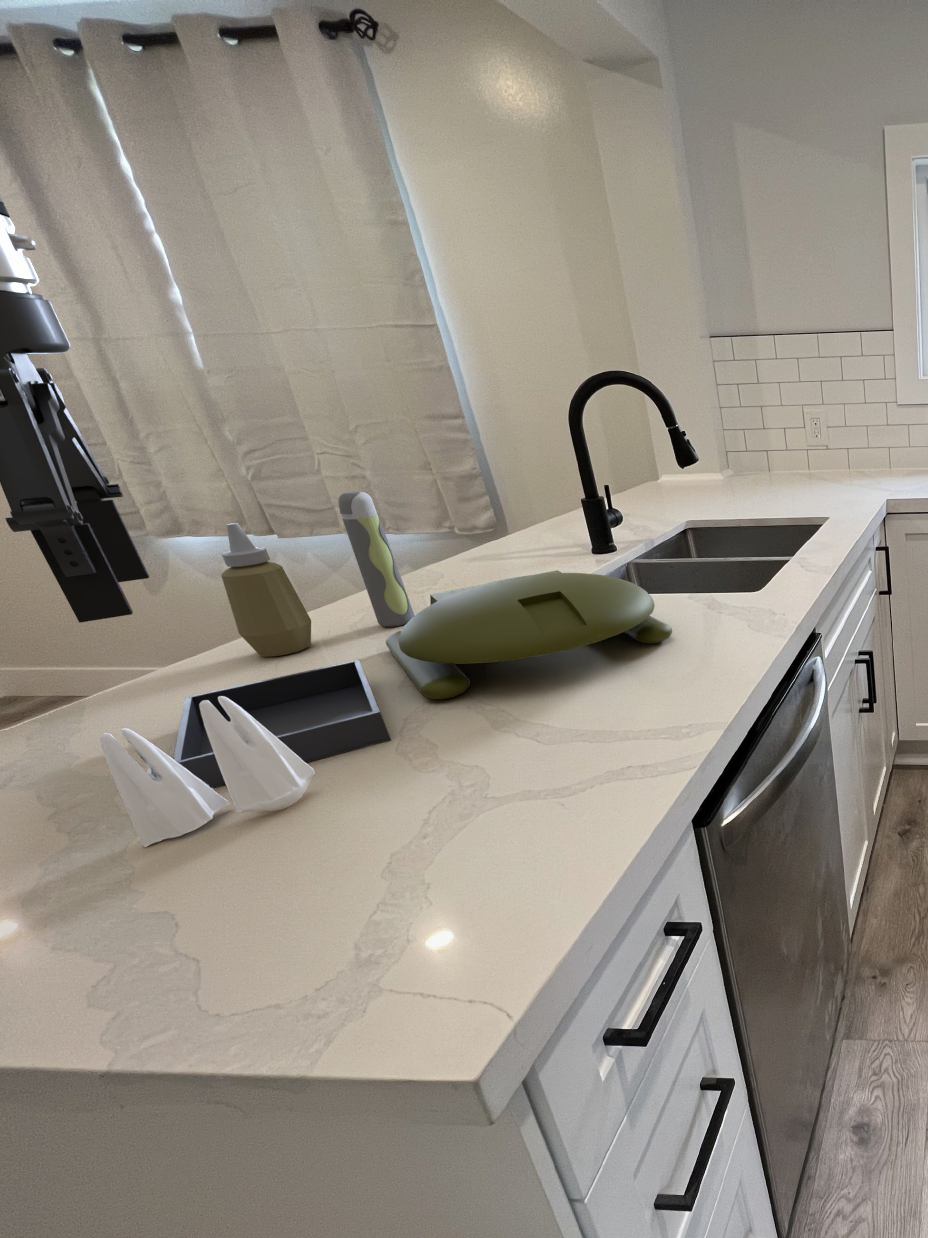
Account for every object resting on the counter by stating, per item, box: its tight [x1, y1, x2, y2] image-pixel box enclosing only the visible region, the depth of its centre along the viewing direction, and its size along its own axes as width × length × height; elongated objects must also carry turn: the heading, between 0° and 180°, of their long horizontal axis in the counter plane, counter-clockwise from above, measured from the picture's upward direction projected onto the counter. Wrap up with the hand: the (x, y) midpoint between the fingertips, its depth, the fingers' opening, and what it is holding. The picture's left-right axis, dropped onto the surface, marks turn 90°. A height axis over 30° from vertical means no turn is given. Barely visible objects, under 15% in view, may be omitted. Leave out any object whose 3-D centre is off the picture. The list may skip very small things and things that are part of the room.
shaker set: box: [99, 696, 316, 848], centre depth 65 cm, size 12×4×11 cm, turn 119°
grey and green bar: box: [337, 490, 416, 628], centre depth 114 cm, size 5×5×20 cm
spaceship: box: [385, 569, 673, 700], centre depth 103 cm, size 35×31×10 cm
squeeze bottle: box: [220, 522, 312, 657], centre depth 104 cm, size 8×8×18 cm
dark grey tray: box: [172, 659, 392, 789], centre depth 82 cm, size 21×16×3 cm
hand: (118, 598), depth 59 cm, fingers open, 13 cm apart
